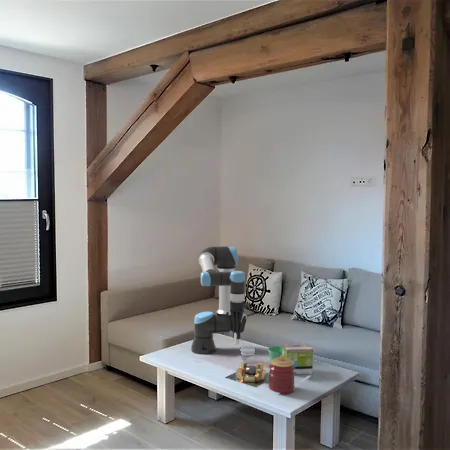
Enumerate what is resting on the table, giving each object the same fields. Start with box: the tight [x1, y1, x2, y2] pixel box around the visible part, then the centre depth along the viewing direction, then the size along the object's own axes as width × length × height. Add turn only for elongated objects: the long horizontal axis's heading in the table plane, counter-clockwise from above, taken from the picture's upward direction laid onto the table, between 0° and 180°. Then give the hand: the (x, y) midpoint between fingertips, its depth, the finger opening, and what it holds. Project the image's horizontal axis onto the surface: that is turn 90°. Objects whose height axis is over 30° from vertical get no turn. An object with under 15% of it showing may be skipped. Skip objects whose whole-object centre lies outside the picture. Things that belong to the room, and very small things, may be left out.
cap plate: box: [224, 364, 269, 388], centre depth 259 cm, size 20×20×6 cm
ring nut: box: [235, 361, 267, 382], centre depth 259 cm, size 16×16×5 cm
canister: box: [268, 355, 296, 395], centre depth 245 cm, size 13×13×18 cm
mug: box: [268, 345, 282, 362], centre depth 279 cm, size 15×10×10 cm
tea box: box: [281, 343, 314, 376], centre depth 268 cm, size 15×10×15 cm, turn 99°
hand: (236, 344), depth 257 cm, fingers closed
